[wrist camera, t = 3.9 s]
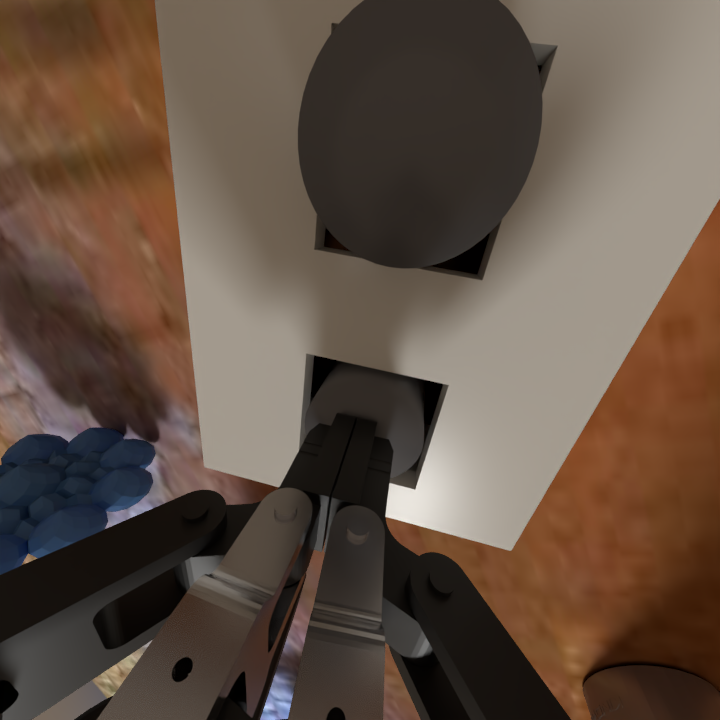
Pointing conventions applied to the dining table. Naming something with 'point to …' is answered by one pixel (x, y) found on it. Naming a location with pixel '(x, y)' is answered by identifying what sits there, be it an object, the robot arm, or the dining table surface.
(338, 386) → the knob
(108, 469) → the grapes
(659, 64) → the knob panel
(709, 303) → the dining table surface
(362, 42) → the knob
